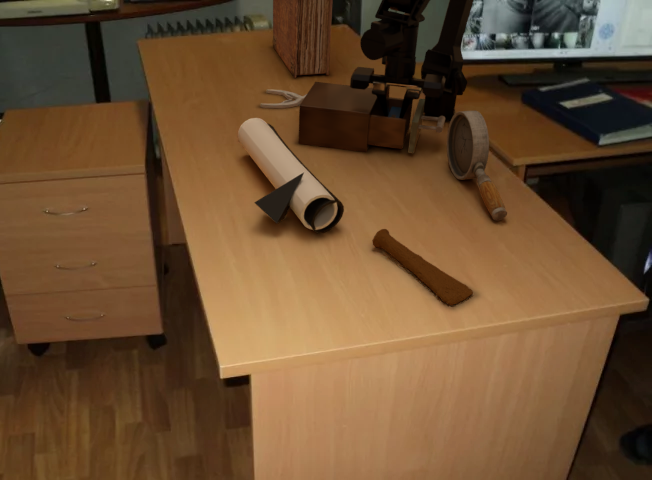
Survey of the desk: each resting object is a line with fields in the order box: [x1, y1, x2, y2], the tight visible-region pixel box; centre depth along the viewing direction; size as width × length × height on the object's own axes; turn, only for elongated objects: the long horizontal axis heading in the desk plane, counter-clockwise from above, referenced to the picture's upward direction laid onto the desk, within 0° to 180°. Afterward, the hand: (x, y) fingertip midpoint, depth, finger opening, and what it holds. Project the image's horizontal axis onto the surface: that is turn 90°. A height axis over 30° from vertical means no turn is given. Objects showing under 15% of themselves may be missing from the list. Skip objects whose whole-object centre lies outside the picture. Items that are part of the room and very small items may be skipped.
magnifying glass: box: [446, 110, 508, 222], centre depth 137 cm, size 13×3×25 cm
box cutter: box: [388, 107, 401, 118], centre depth 154 cm, size 10×2×3 cm, turn 164°
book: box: [272, 0, 333, 79], centre depth 188 cm, size 25×9×30 cm, turn 13°
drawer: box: [368, 96, 446, 154], centre depth 154 cm, size 18×13×7 cm
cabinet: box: [298, 81, 378, 153], centre depth 157 cm, size 15×14×9 cm
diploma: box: [237, 117, 345, 234], centre depth 135 cm, size 35×9×14 cm
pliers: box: [259, 88, 307, 109], centre depth 174 cm, size 10×2×15 cm
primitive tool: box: [371, 228, 474, 306], centre depth 116 cm, size 19×6×4 cm, turn 39°
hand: (393, 121), depth 154 cm, fingers closed on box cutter, 2 cm apart
